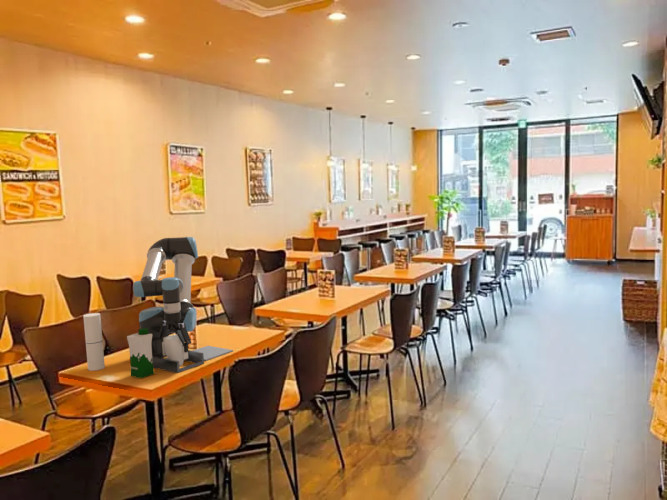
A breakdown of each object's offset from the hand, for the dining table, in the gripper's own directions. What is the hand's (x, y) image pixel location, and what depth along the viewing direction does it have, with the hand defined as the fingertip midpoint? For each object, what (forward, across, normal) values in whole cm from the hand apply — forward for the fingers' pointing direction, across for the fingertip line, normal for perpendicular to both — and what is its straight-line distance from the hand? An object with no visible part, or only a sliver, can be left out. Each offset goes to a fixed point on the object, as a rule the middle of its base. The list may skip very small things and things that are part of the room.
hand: (175, 357), depth 262 cm
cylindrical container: (+4, -30, -21) cm, 37 cm away
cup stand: (+4, 0, 0) cm, 4 cm away
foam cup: (+4, 0, 0) cm, 4 cm away
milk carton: (+4, -2, -17) cm, 18 cm away
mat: (+4, -1, +20) cm, 20 cm away
